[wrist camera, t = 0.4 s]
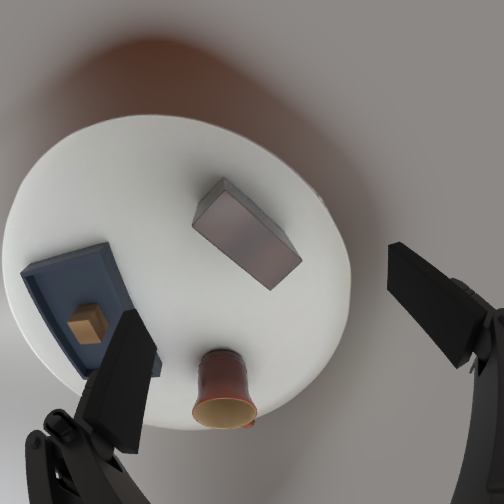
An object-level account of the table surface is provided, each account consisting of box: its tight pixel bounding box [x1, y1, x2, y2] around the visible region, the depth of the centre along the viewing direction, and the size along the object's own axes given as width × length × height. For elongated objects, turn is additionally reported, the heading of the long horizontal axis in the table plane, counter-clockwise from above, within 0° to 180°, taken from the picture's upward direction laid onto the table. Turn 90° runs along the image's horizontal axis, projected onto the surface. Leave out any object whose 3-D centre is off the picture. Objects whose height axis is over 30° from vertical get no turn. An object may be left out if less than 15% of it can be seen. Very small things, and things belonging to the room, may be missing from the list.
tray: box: [20, 242, 162, 380], centre depth 34 cm, size 22×16×3 cm
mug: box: [192, 350, 257, 429], centre depth 37 cm, size 12×9×10 cm
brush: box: [192, 176, 302, 291], centre depth 28 cm, size 10×4×8 cm, turn 46°
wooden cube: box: [67, 303, 109, 344], centre depth 32 cm, size 4×4×4 cm
